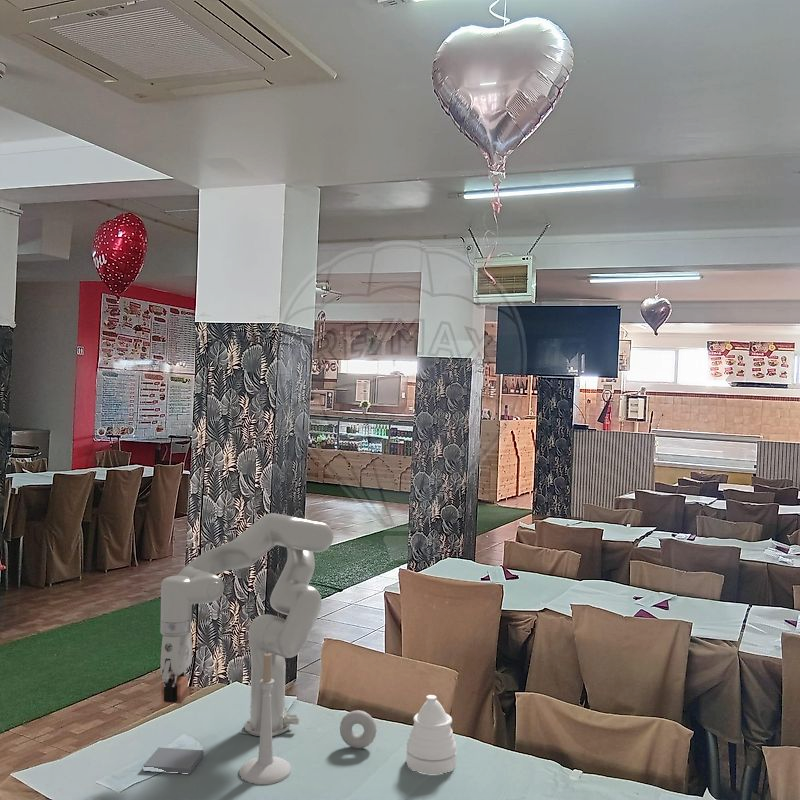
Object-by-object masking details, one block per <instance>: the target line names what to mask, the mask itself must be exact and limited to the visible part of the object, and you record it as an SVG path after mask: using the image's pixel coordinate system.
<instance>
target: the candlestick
mask: <svg viewBox="0 0 800 800" xmlns="http://www.w3.org/2000/svg"><path fill="white" fill-rule="evenodd" d="M271 661H272V654H271V653H268V652H267V653H265V654H264V661H263V679H262V680H260V682H261V683H262V689H263V691H264V694H263V702H262V716H261V731H260V736H259V746H258V756H257V757H254V758H251V759H249V760H247V761H246V762H244V763H243V764H242V765H241V766H240V768H239V774H240V775H239V774H238V775H239V777H240V776H241V777H240V779H242V780H243V779H244V780H245V781H244V780H243V781H244V782H246V781H248V782H247V783H249V782H250V783H249V784H252V783H254V784H253V785H262V784H263V785H273V784H276V783H279V782H281V781H284V780H286V779H287V778H288V777H289V776H290V775H291V773H292V765H291V764H290V762H289V761H287V760H285V759H284V758H281V757H279V756H275V755H274V751H273V750H274V747H273V736H272V717H271V694H270V691H271V688H272V683H273V682H274V679H271Z"/></svg>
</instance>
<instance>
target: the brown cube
mask: <svg viewBox="0 0 800 800" xmlns="http://www.w3.org/2000/svg"><path fill="white" fill-rule="evenodd" d="M169 677H170V678H171V679H172V680H173V676H169ZM176 686H177V701H176V702H175V703H174V702H164V682H163V681H162V682H161V695H160V697H161V698H160V699H161V700H160V702H161V703H162V704H177V705H181V704H182V703H183V702H184V701H185V700H186V698H187V697H188V694H189V677H188V676H186V677H184V676H177V680H176Z"/></svg>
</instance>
